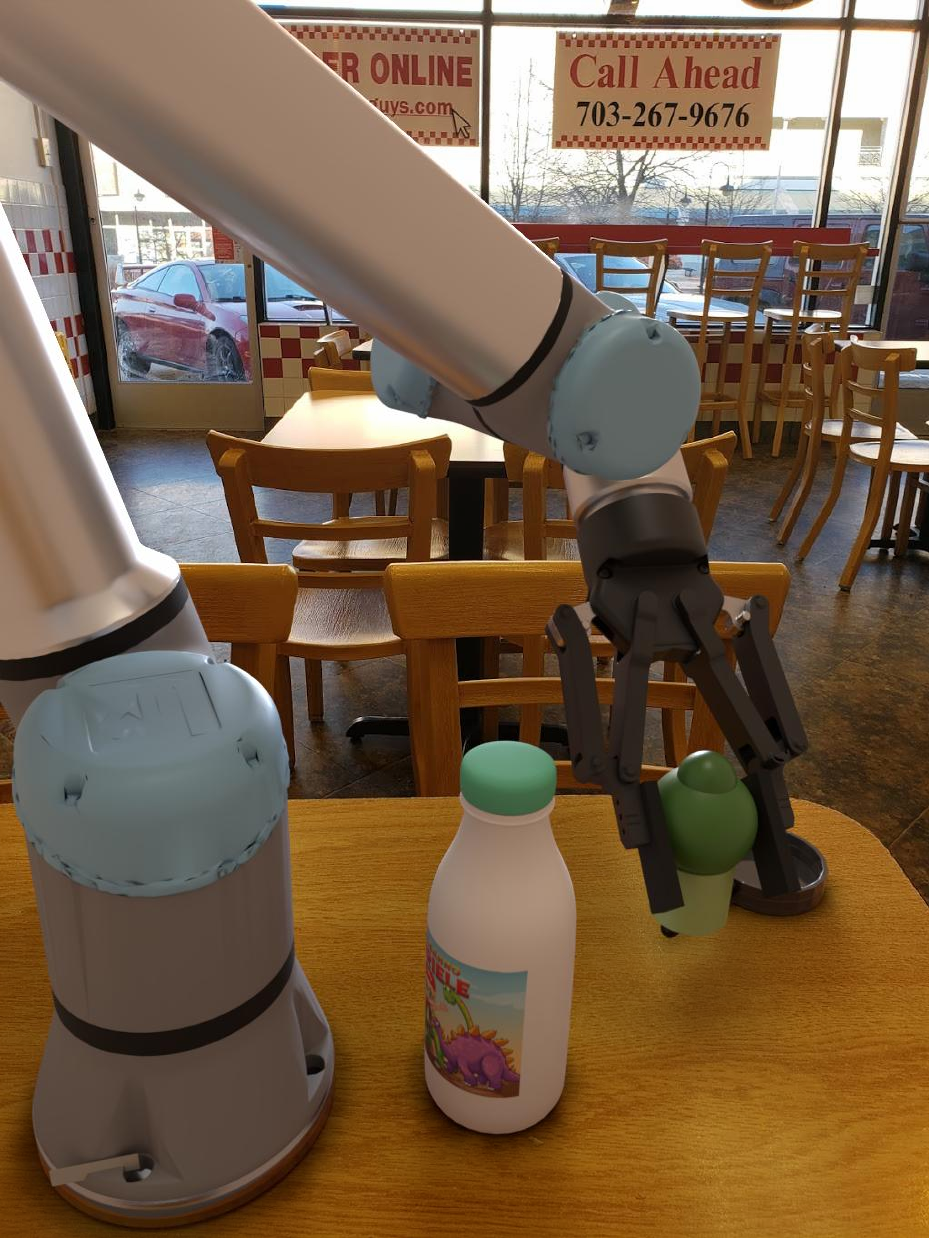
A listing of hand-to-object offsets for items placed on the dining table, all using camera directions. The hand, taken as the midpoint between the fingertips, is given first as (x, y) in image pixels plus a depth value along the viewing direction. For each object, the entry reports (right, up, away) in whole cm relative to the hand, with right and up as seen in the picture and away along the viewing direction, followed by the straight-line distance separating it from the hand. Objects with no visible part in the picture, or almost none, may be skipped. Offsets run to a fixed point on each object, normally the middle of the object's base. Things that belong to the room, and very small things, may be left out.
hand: (725, 901), depth 49 cm
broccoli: (-1, -2, +4) cm, 5 cm away
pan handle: (+2, -6, +15) cm, 16 cm away
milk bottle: (-12, -11, +3) cm, 16 cm away
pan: (+8, -4, +20) cm, 22 cm away
